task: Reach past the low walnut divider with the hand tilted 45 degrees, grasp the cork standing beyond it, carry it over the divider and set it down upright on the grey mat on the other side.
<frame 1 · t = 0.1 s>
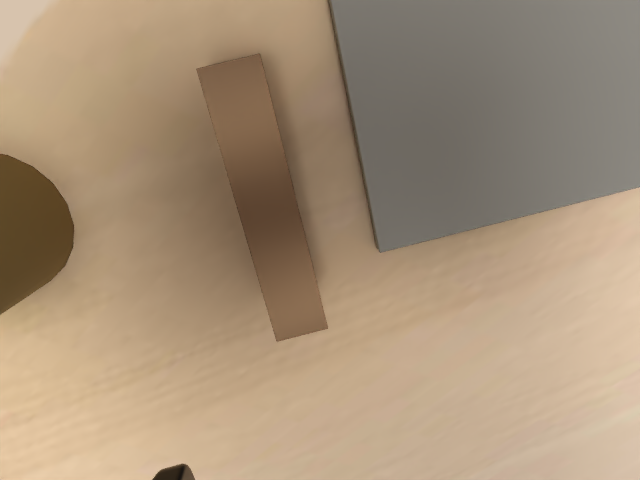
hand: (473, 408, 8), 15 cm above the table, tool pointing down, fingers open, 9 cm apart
grey mat: (493, 79, 21), on the table
walnut divider: (267, 184, 21), on the table
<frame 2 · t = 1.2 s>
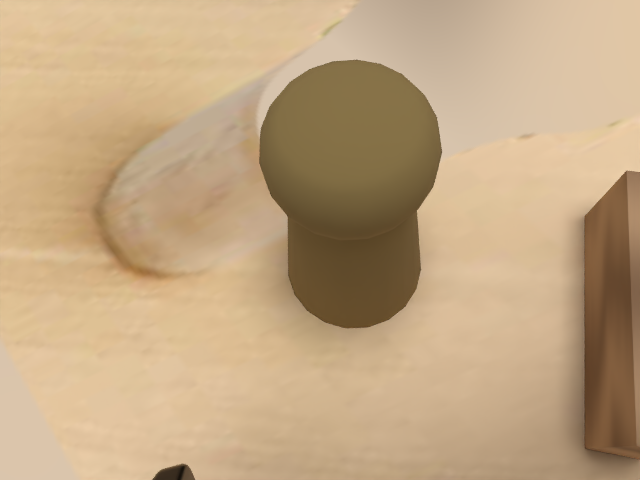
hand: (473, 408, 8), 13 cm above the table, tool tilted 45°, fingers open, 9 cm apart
walnut divider: (610, 326, 21), on the table
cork: (353, 264, 23), on the table
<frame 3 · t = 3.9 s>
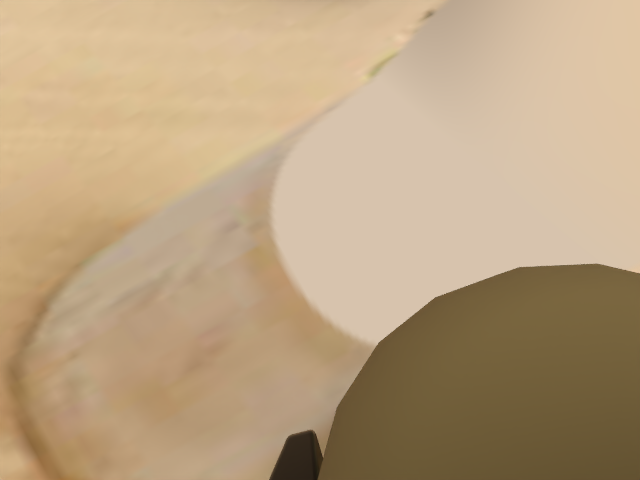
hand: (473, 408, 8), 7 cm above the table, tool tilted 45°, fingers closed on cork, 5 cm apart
when the fingers open (8 cm above the table, at t = 8.5 s): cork stays where it is, resting on grey mat.
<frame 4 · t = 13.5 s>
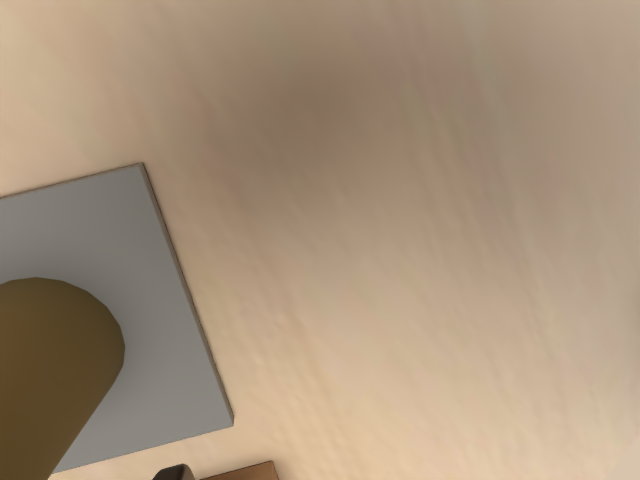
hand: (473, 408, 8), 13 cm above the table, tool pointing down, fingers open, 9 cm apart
grey mat: (49, 339, 21), on the table
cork: (47, 344, 20), resting on grey mat
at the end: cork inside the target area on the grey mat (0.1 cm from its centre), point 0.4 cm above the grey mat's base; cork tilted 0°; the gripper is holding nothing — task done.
